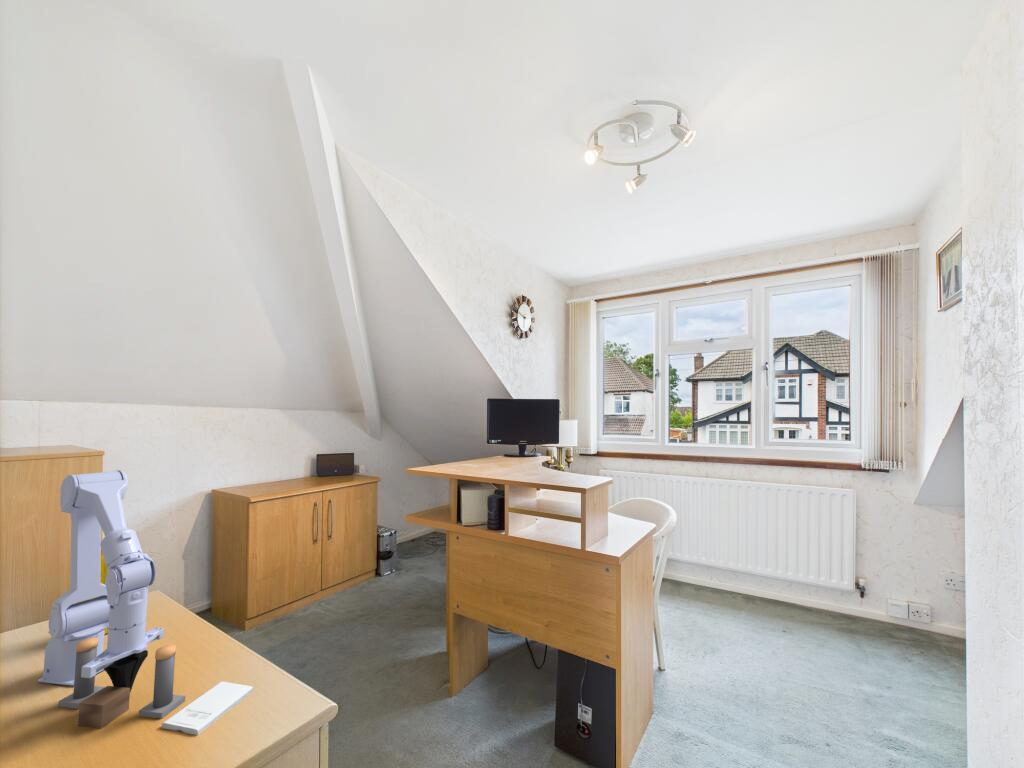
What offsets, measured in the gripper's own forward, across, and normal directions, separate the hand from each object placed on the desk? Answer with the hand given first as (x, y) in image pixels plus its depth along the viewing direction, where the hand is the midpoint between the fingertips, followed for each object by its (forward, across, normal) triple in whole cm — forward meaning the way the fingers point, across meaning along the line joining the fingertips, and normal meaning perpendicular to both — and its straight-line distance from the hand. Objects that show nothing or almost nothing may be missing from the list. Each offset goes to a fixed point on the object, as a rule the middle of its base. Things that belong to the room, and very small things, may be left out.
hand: (123, 693), depth 85 cm
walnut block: (+2, -4, 0) cm, 4 cm away
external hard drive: (+3, +1, -18) cm, 18 cm away
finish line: (+2, 0, 0) cm, 2 cm away
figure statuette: (+2, +22, +33) cm, 40 cm away
